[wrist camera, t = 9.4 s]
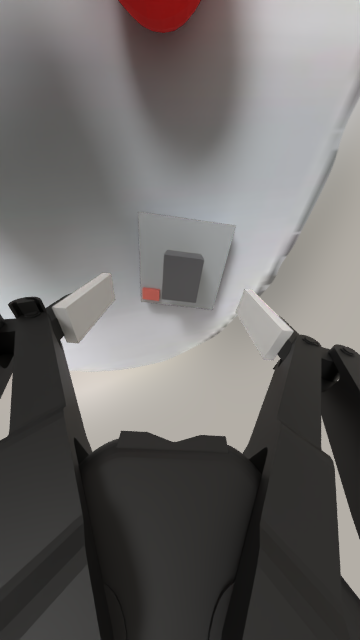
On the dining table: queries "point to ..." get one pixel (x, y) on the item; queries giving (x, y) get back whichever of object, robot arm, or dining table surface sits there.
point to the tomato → (160, 13)
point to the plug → (181, 276)
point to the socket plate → (183, 237)
